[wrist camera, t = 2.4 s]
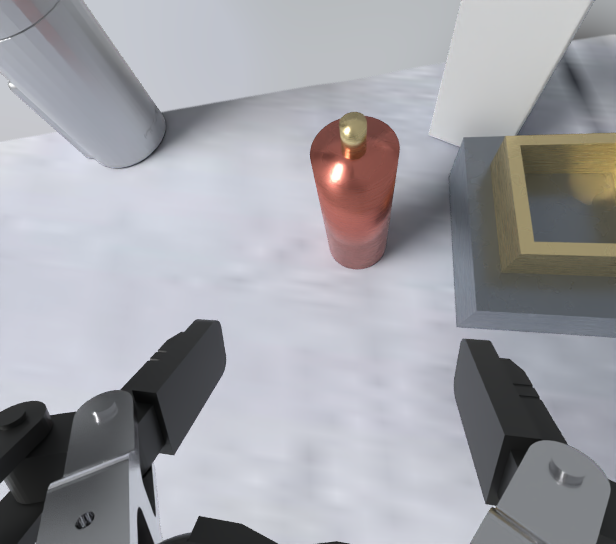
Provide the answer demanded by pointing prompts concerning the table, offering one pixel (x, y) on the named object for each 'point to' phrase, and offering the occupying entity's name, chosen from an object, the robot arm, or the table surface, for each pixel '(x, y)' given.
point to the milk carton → (501, 64)
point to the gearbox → (535, 233)
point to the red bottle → (356, 186)
